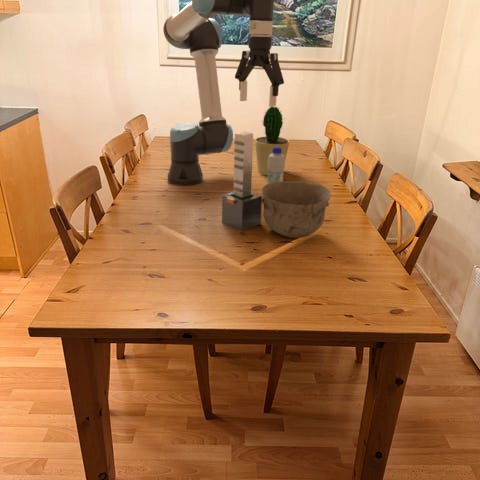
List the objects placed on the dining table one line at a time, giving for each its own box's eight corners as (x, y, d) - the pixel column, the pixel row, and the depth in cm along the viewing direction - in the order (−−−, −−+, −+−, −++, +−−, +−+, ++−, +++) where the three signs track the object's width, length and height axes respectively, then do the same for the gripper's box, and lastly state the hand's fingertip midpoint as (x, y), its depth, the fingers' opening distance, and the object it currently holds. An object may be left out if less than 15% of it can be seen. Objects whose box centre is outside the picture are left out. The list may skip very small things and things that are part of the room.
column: (231, 200, 147) (233, 133, 137) (241, 197, 150) (243, 131, 140) (241, 204, 144) (243, 135, 134) (251, 201, 147) (254, 133, 138)
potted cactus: (294, 174, 205) (299, 106, 192) (267, 179, 197) (271, 109, 184) (273, 165, 216) (277, 101, 203) (247, 170, 208) (249, 103, 195)
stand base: (211, 225, 151) (211, 194, 146) (240, 214, 160) (241, 185, 155) (241, 239, 142) (242, 206, 137) (270, 226, 151) (272, 196, 147)
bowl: (281, 255, 133) (285, 208, 127) (246, 227, 150) (248, 184, 144) (340, 241, 143) (346, 197, 136) (301, 217, 160) (305, 176, 153)
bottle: (281, 200, 174) (285, 149, 165) (264, 199, 175) (267, 148, 166) (283, 194, 180) (287, 145, 171) (267, 193, 181) (269, 144, 172)
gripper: (225, 34, 151) (224, 99, 160) (282, 37, 135) (278, 109, 145) (240, 34, 156) (239, 97, 165) (298, 37, 140) (292, 107, 150)
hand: (257, 103), depth 155 cm, fingers open, 13 cm apart
